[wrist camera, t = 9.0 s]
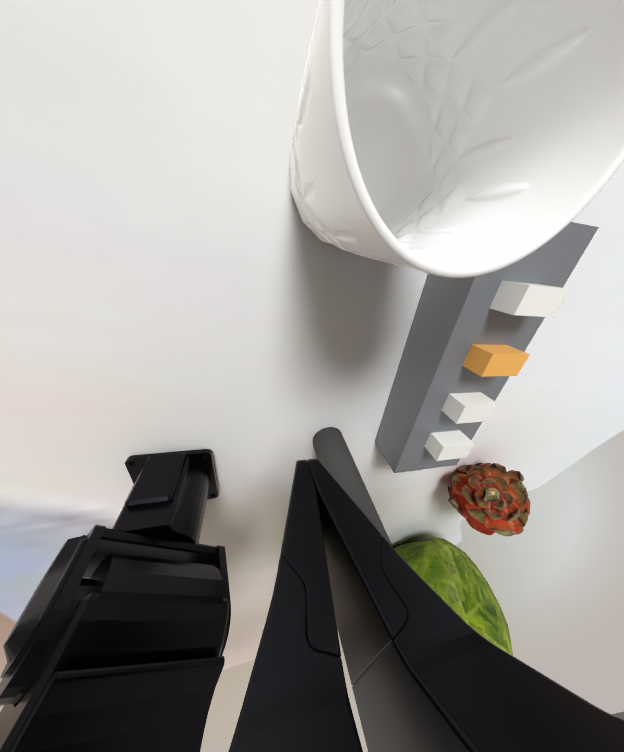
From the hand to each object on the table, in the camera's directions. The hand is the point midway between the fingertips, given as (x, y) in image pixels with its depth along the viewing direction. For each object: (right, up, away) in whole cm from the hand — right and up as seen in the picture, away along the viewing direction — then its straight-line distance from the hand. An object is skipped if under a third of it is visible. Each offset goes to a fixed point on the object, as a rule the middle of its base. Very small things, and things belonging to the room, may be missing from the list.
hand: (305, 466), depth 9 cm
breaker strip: (+11, +5, +11) cm, 17 cm away
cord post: (+2, -3, +14) cm, 14 cm away
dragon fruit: (+22, -10, +23) cm, 34 cm away
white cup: (+2, +15, +4) cm, 15 cm away
